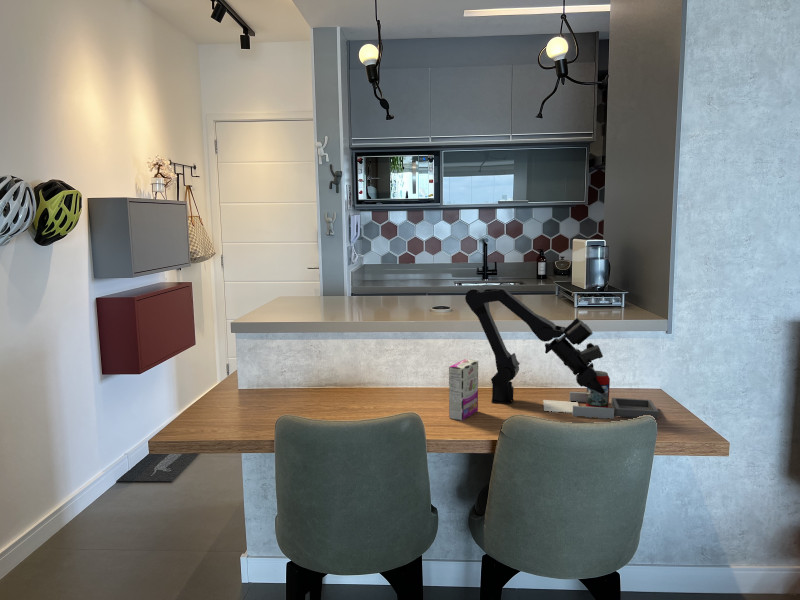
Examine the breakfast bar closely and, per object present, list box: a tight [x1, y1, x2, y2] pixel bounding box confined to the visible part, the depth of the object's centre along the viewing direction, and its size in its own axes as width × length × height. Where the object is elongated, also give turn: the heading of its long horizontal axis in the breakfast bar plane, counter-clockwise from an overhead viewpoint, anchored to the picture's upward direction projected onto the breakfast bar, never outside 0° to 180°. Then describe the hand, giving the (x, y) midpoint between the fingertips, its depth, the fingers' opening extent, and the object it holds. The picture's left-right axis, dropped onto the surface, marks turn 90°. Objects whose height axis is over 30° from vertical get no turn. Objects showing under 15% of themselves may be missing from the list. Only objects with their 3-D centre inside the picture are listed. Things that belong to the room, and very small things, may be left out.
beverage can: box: [585, 370, 611, 408], centre depth 192 cm, size 7×7×12 cm
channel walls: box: [568, 391, 615, 420], centre depth 193 cm, size 12×16×3 cm
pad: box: [542, 399, 580, 414], centre depth 195 cm, size 11×11×1 cm
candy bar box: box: [448, 358, 479, 422], centre depth 187 cm, size 11×5×16 cm, turn 148°
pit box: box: [610, 397, 659, 420], centre depth 191 cm, size 12×12×2 cm
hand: (602, 389), depth 192 cm, fingers closed on beverage can, 7 cm apart
